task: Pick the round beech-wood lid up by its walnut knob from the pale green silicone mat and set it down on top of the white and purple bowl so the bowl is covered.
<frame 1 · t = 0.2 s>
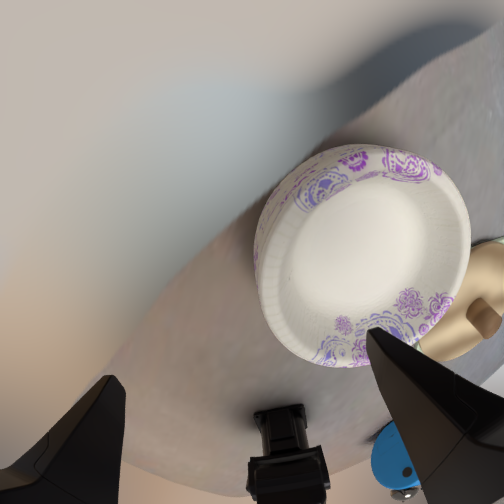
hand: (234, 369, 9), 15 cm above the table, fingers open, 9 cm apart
lid: (471, 304, 27), point 1 cm above the table, touching mat
alarm clock: (397, 422, 39), on the table
white and purple bowl: (342, 231, 23), on the table
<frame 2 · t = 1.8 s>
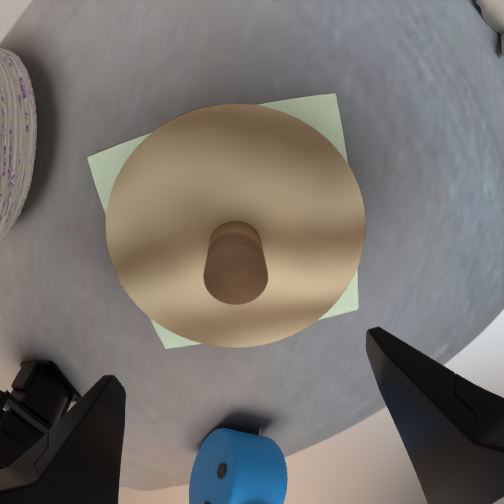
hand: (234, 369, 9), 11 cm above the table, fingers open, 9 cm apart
mat: (235, 236, 19), on the table
lid: (235, 240, 19), point 1 cm above the table, touching mat
alarm clock: (230, 435, 30), on the table
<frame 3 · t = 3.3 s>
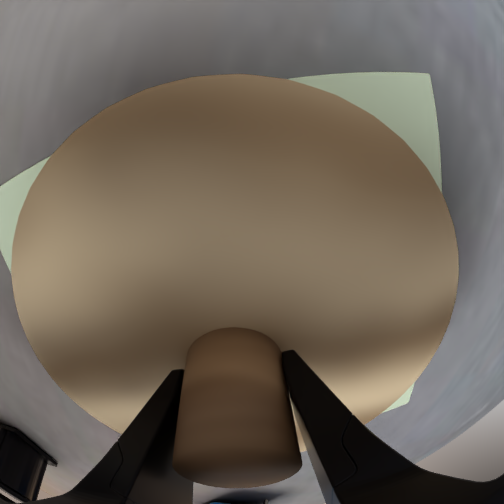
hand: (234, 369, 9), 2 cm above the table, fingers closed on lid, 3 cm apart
mat: (234, 334, 11), on the table
lid: (234, 345, 10), point 1 cm above the table, touching gripper, mat
alarm clock: (232, 503, 22), on the table
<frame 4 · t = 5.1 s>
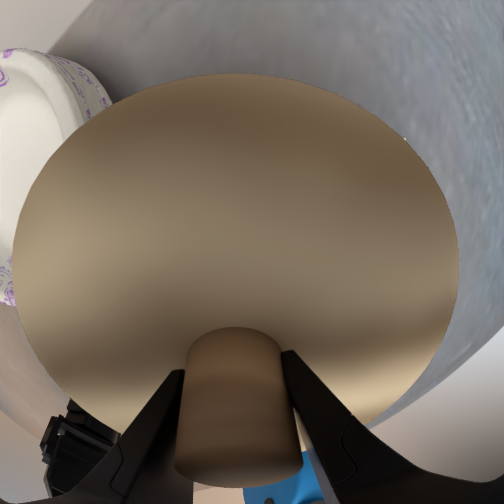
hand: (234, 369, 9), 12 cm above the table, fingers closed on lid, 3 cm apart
lid: (235, 345, 10), point 11 cm above the table, touching gripper
alarm clock: (281, 434, 33), on the table
white and purple bowl: (53, 161, 17), on the table
when the fingers open (10 cm above the table, at t = 6.5 s): lid drops 1 cm, resting on white and purple bowl.
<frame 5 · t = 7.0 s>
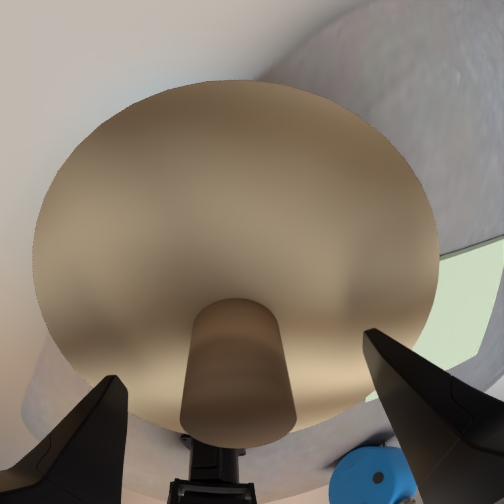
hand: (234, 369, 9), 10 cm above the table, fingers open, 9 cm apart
mat: (438, 325, 23), on the table
lid: (235, 318, 11), point 8 cm above the table, touching white and purple bowl
alarm clock: (360, 450, 34), on the table
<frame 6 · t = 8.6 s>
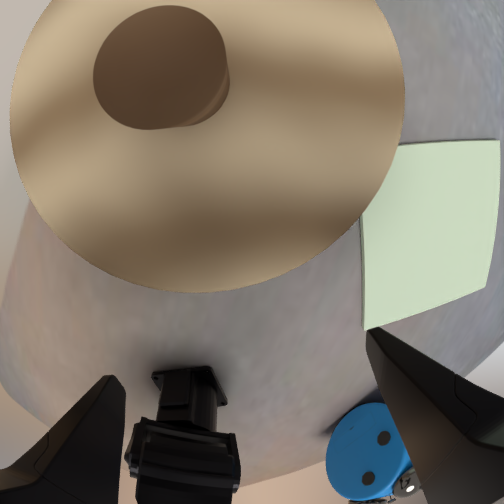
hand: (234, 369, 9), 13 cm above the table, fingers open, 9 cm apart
mat: (439, 232, 22), on the table
lid: (188, 87, 10), point 8 cm above the table, touching white and purple bowl
alarm clock: (361, 411, 33), on the table
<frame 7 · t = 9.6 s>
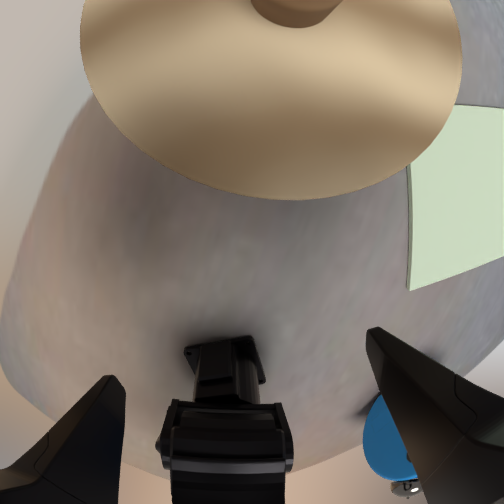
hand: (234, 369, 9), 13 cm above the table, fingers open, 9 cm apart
mat: (473, 192, 20), on the table
lid: (287, 3, 8), point 8 cm above the table, touching white and purple bowl
alarm clock: (396, 389, 31), on the table
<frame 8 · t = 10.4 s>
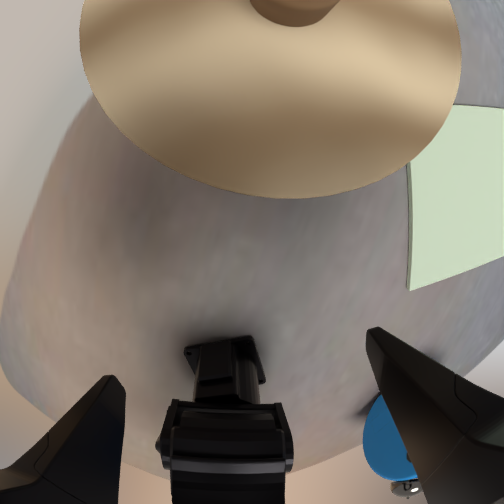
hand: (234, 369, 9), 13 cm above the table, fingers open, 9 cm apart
mat: (473, 192, 20), on the table
lid: (286, 2, 8), point 8 cm above the table, touching white and purple bowl
alarm clock: (396, 389, 31), on the table
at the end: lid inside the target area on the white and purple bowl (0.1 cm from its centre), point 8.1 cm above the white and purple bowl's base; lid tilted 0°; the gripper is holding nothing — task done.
